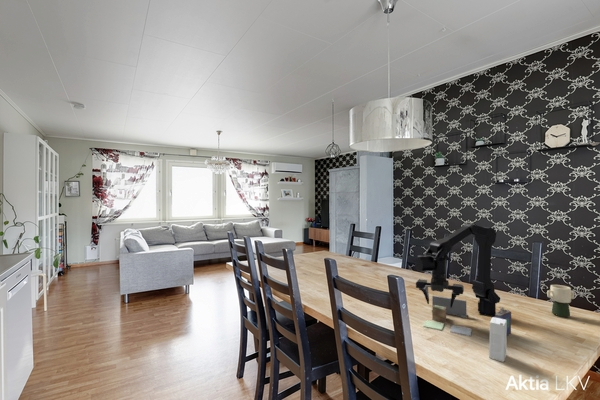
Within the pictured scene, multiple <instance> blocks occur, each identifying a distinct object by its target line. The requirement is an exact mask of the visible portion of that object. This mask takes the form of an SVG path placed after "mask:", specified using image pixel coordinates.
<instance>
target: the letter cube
mask: <svg viewBox="0 0 600 400" xmlns="http://www.w3.org/2000/svg"><path fill="white" fill-rule="evenodd" d="M431 313H432V317H431V318H432V320H431V321H436V322H441V323H442V322H443V323H446V320H447V314H446V307H443V306H437V305H434V306H433V307H432V308H431Z"/></svg>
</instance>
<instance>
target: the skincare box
mask: <svg viewBox="0 0 600 400" xmlns="http://www.w3.org/2000/svg"><path fill="white" fill-rule="evenodd" d="M507 338H508V336H507V320H505V319H500V318H495V317H494V316H491V320H490V322H489V341H488V342H489V343H488V344H489V345H488V346H489V348H488V349H489V350H488V355H489V356H488V357H489V358H490V359H493V360H494V361H499V362H502V363H504V362H505V360H506V357H507Z"/></svg>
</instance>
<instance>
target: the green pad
mask: <svg viewBox="0 0 600 400" xmlns="http://www.w3.org/2000/svg"><path fill="white" fill-rule="evenodd" d="M444 326H445V322H443V323H442V322H440V321H435V320H428V319H426V320H425V322H424V324H423V327H424V328H428V329H433V330H437V331H443V330H444Z"/></svg>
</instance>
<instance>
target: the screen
mask: <svg viewBox="0 0 600 400" xmlns="http://www.w3.org/2000/svg"><path fill="white" fill-rule="evenodd" d="M431 299H432V300H431V301H432V308H433V306H434V305H437V306H443V307H446V315H447V314H448V315H452V316H459V317H460V318H463V319H467V316H468V313H467V300H465V299H459V298H455V299H454V302H453V305H452V308H450V304H451V298H450V297H444V296H437V295H432V298H431Z"/></svg>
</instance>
